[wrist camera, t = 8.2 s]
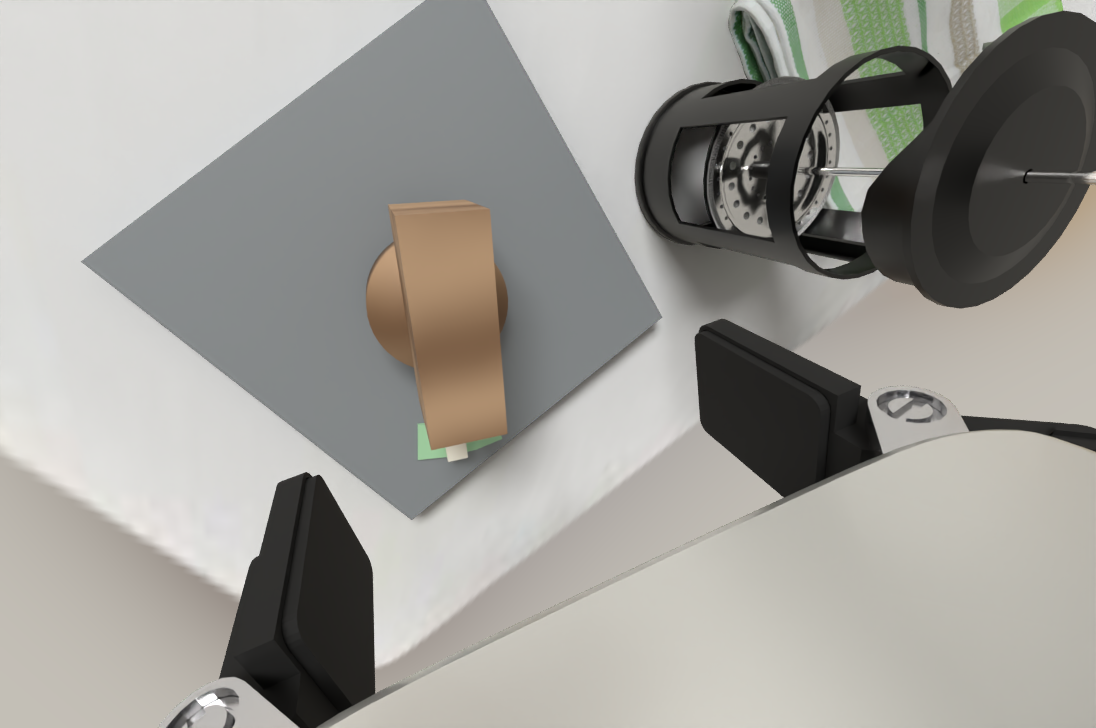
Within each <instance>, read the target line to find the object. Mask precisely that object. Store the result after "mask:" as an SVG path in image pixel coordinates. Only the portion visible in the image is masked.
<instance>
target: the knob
mask: <svg viewBox="0 0 1096 728" xmlns="http://www.w3.org/2000/svg"><path fill="white" fill-rule="evenodd" d="M388 209H389V215H390V222H391V228H392V234H393V240H394V242H392V243H391V244H390V245H389V246H387V247H386V248H385V249H384V250H383V251H382V253H381V254H380V255H379V256H378V258H377V259H376V260H375V262H374V264H373V266H372V268H371V270H370V273H369V276H368V279H367V285H366V309H367V317H368V320H369V324H370V327H371V329H372V332H373V334H374V335H375V337H376V339H377V340H378V342H379V343H380V344H381V346H382V347H383V348H384V349H385V350H386V351H387V352H388V353H389V354H390V355H392V356H393V357H394V358H396V359H397V360H399V361H400V362H402V363H404V364H406V365H409V366H411V367H414V372H415V378H416V384H417V390H418V397H419V402H420V406H421V410H422V415H423V419H424V423H425V427H426V431H427V435H428V439H429V443H430V447H431V450H436V449H440V448H446V455H447V459H448V462H451V461H456V460H460V459H464V458H468V454H467V446H466V443H468V442H473V441H477V440H482V439H487V438H491V437H496V436H501V435H505V434H508V433H507V420H506V408H505V395H504V382H503V369H502V357H501V344H500V333H501V331H502V329H503V327H504V324H505V321H506V317H507V311H508V294H507V288H506V284H505V281H504V279H503V276H502V274H501V272H500V270H499V269H498V267H497V265H496V264H495V263H494V255H493V242H492V229H491V216H490V209H489V208H486V207H483V206H481V205H478V204H475V203H473V202H470V201H468V200H450V201H435V202H419V203H403V204H388Z"/></svg>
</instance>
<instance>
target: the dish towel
mask: <svg viewBox="0 0 1096 728" xmlns="http://www.w3.org/2000/svg"><path fill="white" fill-rule="evenodd" d="M1059 11H1063V7H1062V2H1061V0H735V1H734V4H733V6H732V8H731V10H730V17H729V29H730V32H731V35H732V37H733V40H734V43H735V46H736V48H737V51H738V53H739V56H740V59H741V62H742V65H743V68H744V72H745V74H746V76H747V78H748V79H750V80H756V81H759V82H762V83H764V82H766V81H768V80H770V79H774V78H778V77H783V76H792V77H800V78H803V79H805V80H809V79H815V78H817V77H818V76H820V75H821V74H822V73H823V72H825V71H826V70H827V69H828V68H830V67H831V66H832V65H834V64H836V63H838V62H840V61H842V60H844V59H846V58H848V57H850V56H853V55H857V54H862V53H866V52H871V51H875V50H880V49H885V48H890V47H894V46H899V45H900V46H910V47H917V48H919V49H921V50H923V51H925V52H928V53H930V54H931V55H932V56H933V57H934V58H935V59H936V60H937V61H938V62H939V63H940V64H941V65H942V67H943V68H944V70H945V72H946V74H947V75H948V77H949V79H950V81H951V85H952V88H953V86H954V85H955V84H956V82H957V81H958V79H959V78H960V76H961V75H962V73H963V72H964V71H965V70H966V69H967V68H968V67H969V65H970V64H971V63H972V62H973V61H974V60H975V59H976V58H977V57H978V56H979V54H980V53H981V52H982V51H983V50H982V47H983V43H987V42H992V41H995V40H996V39H997V38H998V37H999V36H1001V35H1002V34H1003V33H1004V32H1006V31H1007V30H1008V29H1010V28H1012V27H1014V26H1016V25H1018V24H1020V23H1022V22H1023V21H1025V20H1027V19H1029V18H1032V17H1036V16H1041V15H1045V14H1050V13H1054V12H1059ZM900 71H902V70H901V69H900V68H899V67H898V66H897V65H896V64H893V63H891V62H889V61H886V60H884V59H879V58H874V59H872V60H870V61H868V62H866V63H864V64H863V65H862V66H860V67H859V68H858V69H857V70H855V71H854V72H853V73H852V74H850V75H849V76H848V77H847V78H846V79H845V80H851V79H858V78H864V77H870V76H876V75H882V74H888V73H894V72H900ZM845 80H844V81H845ZM835 114H836V118H837V123H838V127H839V137H840V151H839V162H838V167H847V168H885V167H886V166H887V165H888V164H889V163H890V162H891V161H892V160H893V159H894V158H895V157H896V156H897V155H898V154H899V153H900V152H901V151H902V150H903V149H904V148H905V147H906V146H907V145H909V144H910V143H911V142H912V141H913V140H914V139H915V138H916V137H917V136H918V135H919V134H920V133H921V132H922V131H923V117H922V110H921V104H914V105H904V106H894V107H884V108H874V109H864V110H854V111H844V112H835ZM876 178H877V177H851V176H835V179H834V182H833V185H832V188H831V191H830V193H829V195H828V197H827V199H826V201H825V203H824V205H823V207H822V208H825V209H835V210H844V211H854V212H861V211H862V207H863V204H864V200H865V197H866V194H867V190H868V188H869V187H870V186H871V185H872V183H873V182H874V181H875V180H876Z"/></svg>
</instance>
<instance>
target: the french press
mask: <svg viewBox="0 0 1096 728" xmlns="http://www.w3.org/2000/svg"><path fill="white" fill-rule="evenodd" d="M982 50H983V51H982V52H981V53H980V54H979V56H978V57H977V58H976V59H975V60H974V61H973V62H972V63H971V64H970V65H969V67H968V68H967V69H966V70H965V71H964V72H963V73H962V75H961V76H960V78H959V79H958V81H957V82H956V84H955V85H954V86H953V88H952V85H951V81H950V79H949V77H948V75H947V74H946V72H945V70H944V68H943V67H942V65H941V64H940V63H939V62H938V61H937V60H936V59H935V58H934V57H933V56H932V55H931V54H930V53H928V52H925V51H923V50H921V49H919V48H917V47H910V46H900V45H899V46H894V47H890V48H885V49H880V50H875V51H871V52H866V53H862V54H857V55H853V56H850V57H848V58H846V59H844V60H842V61H840V62H838V63H836V64H834V65H832V66H831V67H830V68H828V69H827V70H826V71H825V72H823V73H822V74H821V75H820V76H818V77H817V78H815V79H809V80H805V79H803V78H800V77H792V76H783V77H778V78H774V79H770V80H768V81H766V82H764V83H762V82H759V81H756V80H750V79H739V80H734V81H729V82H725V83H719V82H704V83H700V84H695V85H691V86H689V87H687V88H685V89H682V90H680V91H678V92H677V93H676V94H674V95H673V96H672V97H671V98H669V99H668V100H667V101H665V103H664V104H663V105H662V106H661V107H660V108H659V109H658V111H657V112H656V113H655V114H654V116H653V117H652V119H651V121H650V122H649V124H648V126H647V127H646V129H645V132H644V134H643V137H642V139H641V142H640V144H639V149H638V153H637V158H636V165H635V185H636V193H637V197H638V200H639V204H640V207H641V209H642V211H643V213H644V215H645V217H646V219H647V221H648V222H649V223H650V224H651V226H652V227H653V228H654V229H655V230H656V231H657V232H658V233H660V234H661V235H662V236H663V237H665V238H667V239H669V240H671V241H674V242H676V243H681V244H687V245H696V244H699V245H703V246H707V247H712V248H718V249H720V248H724V249H728V250H732V251H736V252H741V253H745V254H749V255H753V256H757V257H761V258H765V259H769V260H773V261H777V262H782V263H786V264H790V265H794V266H796V267H798V268H800V269H802V270H804V271H807V272H811V273H815V274H819V275H823V276H827V277H831V278H837V279H852V278H859V277H861V276H864V275H867V274H870V273H873V272H874V271H876V270H879V271H880V272H881V273H882V274H883V275H884V276H886V277H888V278H890V279H892V280H893V281H896V282H901V283H905V284H910V285H914V286H915V287H916V288H917V289H918V290H919V291H920V293H921V294H922V295H923V296H924V297H925V298H927V299H929V300H931V301H933V302H934V303H936V304H939V305H942V306H947V307H954V308H966V307H973V306H978V305H980V304H983V303H985V302H987V301H990V300H993V299H994V298H996V297H998V296H999V295H1001V294H1003V293H1004V292H1006V291H1007V290H1009V289H1011V288H1012V287H1013V286H1014V285H1015V284H1017V283H1018V282H1019V281H1020V280H1021V279H1023V278H1024V277H1025V276H1026V275H1027V274H1029V272H1030V271H1031V270H1032V269H1033V268H1034V267H1035V266H1036V265H1037V264H1038V263H1039V262H1040V261H1041V260H1042V259H1043V258H1044V257H1045V256H1046V254H1047V253H1048V252H1049V250H1050V249H1051V248H1052V247H1053V245H1054V244H1055V243H1056V241H1057V240H1058V239H1059V237H1060V236H1061V235H1062V233H1063V232H1064V230H1065V229H1066V227H1067V225H1068V224H1069V222H1070V221H1071V219H1072V218H1073V216H1074V214H1075V213H1076V211H1077V209H1078V207H1079V205H1080V203H1081V202H1082V200H1083V198H1084V196H1085V194H1086V192H1087V190H1088V188H1089V186H1090V185H1096V22H1094V21H1093V20H1091V19H1089V18H1088V17H1086V16H1085V15H1083V14H1082V13H1076V12H1069V11H1059V12H1054V13H1050V14H1045V15H1041V16H1036V17H1032V18H1029V19H1027V20H1025V21H1023V22H1022V23H1020V24H1018V25H1016V26H1014V27H1012V28H1010V29H1008V30H1007V31H1006V32H1004V33H1003V34H1002V35H1001V36H999V37H998V38H997V39H996V40H995V41H992V42H987V43H983V47H982ZM874 58H879V59H884V60H886V61H889V62H891V63H893V64H896V65H897V66H898V67H899V68H900V69H901V70H902V71H900V72H894V73H888V74H882V75H876V76H870V77H864V78H858V79H851V80H845V79H846V78H847V77H848V76H849V75H850V74H852V73H853V72H854V71H855V70H857V69H858V68H859V67H860V66H862V65H863V64H864V63H866V62H868V61H870V60H872V59H874ZM844 80H845V81H844ZM914 104H921V110H922V117H923V131H922V132H921V133H920V134H919V135H918V136H917V137H916V138H915V139H914V140H913V141H912V142H911V143H910V144H909V145H907V146H906V147H905V148H904V149H903V150H902V151H901V152H900V153H899V154H898V155H897V156H896V157H895V158H894V159H893V160H892V161H891V162H890V163H889V164H888V165H887V166H886V167H885V168H847V167H838V162H839V151H840V137H839V127H838V123H837V118H836V114H835V112H844V111H854V110H864V109H874V108H884V107H894V106H904V105H914ZM709 126H717V128H716V130H715V132H714V135H713V137H712V140H711V143H710V145H709V149H708V153H707V157H706V161H705V169H704V178H703V184H704V198H705V204H706V209H707V212H708V215H709V218H710V220H711V221H710V222H708V223H704V224H701V225H698V224H693V223H688V222H682V221H681V220H680V218H679V216H678V214H677V211H676V209H675V206H674V202H673V198H672V192H671V167H672V160H673V156H674V152H675V147H676V144H677V142H678V139H679V137H680V134H681V132H682V130H683V129H689V128H699V127H709ZM835 176H851V177H877V178H876V180H875V181H874V182H873V183H872V185H871V186H870V187H869V188H868V190H867V194H866V197H865V200H864V204H863V207H862V211H861V212H854V211H844V210H835V209H825V208H822V207H823V205H824V203H825V201H826V199H827V197H828V195H829V193H830V191H831V188H832V185H833V182H834V179H835ZM807 253H810V254H815V255H820V256H825V257H829V258H834V259H839V260H844V261H849V262H850V263H848V264H845V265H842V266H839V267H836V268H832V269H822V268H820V267H819V266H818V265H817V264H816V263H814V262H813V261H812V260H811V259H810V258H809V256H808V255H807Z"/></svg>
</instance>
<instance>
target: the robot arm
mask: <svg viewBox="0 0 1096 728" xmlns="http://www.w3.org/2000/svg"><path fill="white" fill-rule="evenodd" d="M695 351H696V366H697V381H698V395H699V410H700V421H701V424H702V426H703V428H704V430H705V431H706V432H707V433H708V434H710V436H712V437H713V438H714V439H715V440H716V441H718V442H719V443H720V444H721V445H722V446H724V447H725V448H726V449H727V450H728V451H730V452H731V453H732V454H733V455H734V456H735V457H737V458H738V459H739V460H740V461H741V462H743V463H744V464H745V465H746V466H747V467H748V468H750V469H751V470H752V471H753V472H754V473H756V474H757V475H758V476H759V477H760V478H762V479H763V480H764V481H765V482H766V483H767V484H769V485H770V486H771V487H772V488H773V489H775V490H776V491H777V492H778V493H779V494H780V495H781V496H783V497H784V498H782V499H780V500H778V501H776V502H774V503H772V504H770V505H767V506H765V507H763V508H761V509H759V510H757V511H754V512H752V513H750V514H748V515H746V516H744V517H742V518H740V519H737V520H735V521H733V522H731V523H729V524H726V525H724V526H722V527H720V528H718V529H716V530H714V531H711V532H709V533H707V534H705V535H703V536H701V537H699V538H697V539H695V540H693V541H690V542H688V543H686V544H684V545H682V546H680V547H677V548H675V549H673V550H671V551H669V552H667V553H665V554H663V555H660V556H658V557H656V558H654V559H652V560H650V561H648V562H646V563H643V564H641V565H640V566H637V567H635V568H633V569H631V570H629V571H627V572H625V573H622V574H621V575H618V576H616V577H614V578H612V579H610V580H608V581H606V582H603V583H601V584H599V585H597V586H595V587H593V588H591V589H589V590H586V591H585V592H582V593H580V594H578V595H576V596H574V597H572V598H570V599H568V600H566V601H563V602H561V603H559V604H557V605H555V606H553V607H551V608H549V609H547V610H545V611H543V612H540V613H539V614H537V615H534V616H532V617H530V618H528V619H526V620H524V621H522V622H520V623H518V624H515V625H513V626H511V627H509V628H507V629H505V630H503V631H501V632H499V633H497V634H495V635H493V636H490V637H488V638H486V639H484V640H482V641H480V642H478V643H476V644H474V645H472V646H469V647H467V648H465V649H463V650H461V651H459V652H457V653H455V654H453V655H451V656H449V657H447V658H445V659H443V660H441V661H439V662H437V663H435V664H433V665H431V666H429V667H427V668H425V669H423V670H421V671H419V672H417V673H415V674H413V675H411V676H409V677H407V678H405V679H403V680H401V681H399V682H397V683H395V684H393V685H391V686H389V687H387V688H385V689H383V690H381V691H379V692H377V693H376V694H375V660H374V611H373V572H372V566H371V563H370V560H369V558H368V556H367V554H366V552H365V551H364V549H363V547H362V545H361V544H360V542H359V540H358V539H357V537H356V535H355V533H354V532H353V530H352V528H351V526H350V525H349V523H348V521H347V519H346V518H345V516H344V514H343V513H342V511H341V509H340V507H339V506H338V504H337V502H336V500H335V499H334V497H333V495H332V494H331V492H330V490H329V488H328V487H327V485H326V483H325V481H324V480H323V478H322V477H321V476H320V475H317V476H314V477H312V476H311V475H310V474H309V473H307V472H305V473H303V474H300V475H297V476H295V477H292V478H289V479H287V480H284V481H281V482H279V483H278V485H277V487H276V491H275V495H274V499H273V503H272V507H271V511H270V515H269V519H268V523H267V527H266V531H265V535H264V539H263V542H262V546H261V550H260V554H259V556H258V557H256V558H255V559H253V560H252V562H251V564H250V567H249V570H248V573H247V577H246V581H245V584H244V588H243V592H242V596H241V599H240V603H239V607H238V610H237V614H236V618H235V622H234V625H233V629H232V633H231V636H230V640H229V644H228V647H227V651H226V655H225V659H224V662H223V666H222V670H221V673H220V677H219V679H218V680H215V681H213V682H210V683H207V684H206V685H204V686H202V687H201V688H199V689H197V690H196V691H194V692H193V693H191V694H190V695H189V696H188V697H186V698H185V699H184V700H183V701H182V702H180V703H179V704H178V705H177V706H176V707H175V708H174V709H173V710H172V711H171V712H170V713H169V715H168V716H167V717H166V718H165V719H164V720H163V721H162V722H161V724H160V725H159V727H158V728H1096V429H1095V428H1092V427H1088V426H1083V425H1077V424H1064V423H1053V422H1040V421H1026V420H1012V419H999V418H986V417H985V418H984V417H971V416H961V415H960V414H959V412H958V410H957V408H956V407H955V405H954V404H953V403H952V402H951V401H950V400H948V399H947V398H945V397H944V396H942V395H940V394H938V393H935V392H933V391H930V390H927V389H922V388H917V387H909V386H890V387H886V388H881V389H879V390H877V391H875V392H873V393H872V394H871V395H870V396H869V398H868V399H866V398H864V397H862V396H860V389H861V386H860V385H858V384H856V383H854V382H852V381H850V380H848V379H846V378H844V377H842V376H840V375H838V374H836V373H834V372H832V371H830V370H828V369H826V368H824V367H822V366H820V365H818V364H816V363H813V362H811V361H809V360H807V359H805V358H803V357H801V356H799V355H797V354H795V353H793V352H791V351H789V350H787V349H785V348H783V347H781V346H779V345H777V344H775V343H773V342H771V341H769V340H766V339H764V338H762V337H760V336H758V335H756V334H754V333H752V332H750V331H748V330H746V329H744V328H742V327H740V326H738V325H736V324H734V323H732V322H730V321H728V320H725V319H720V320H717V321H714V322H711V323H709V324H706V325H703V326H702V327H701V328H700V330H699V333H698V334H696V336H695Z"/></svg>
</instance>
